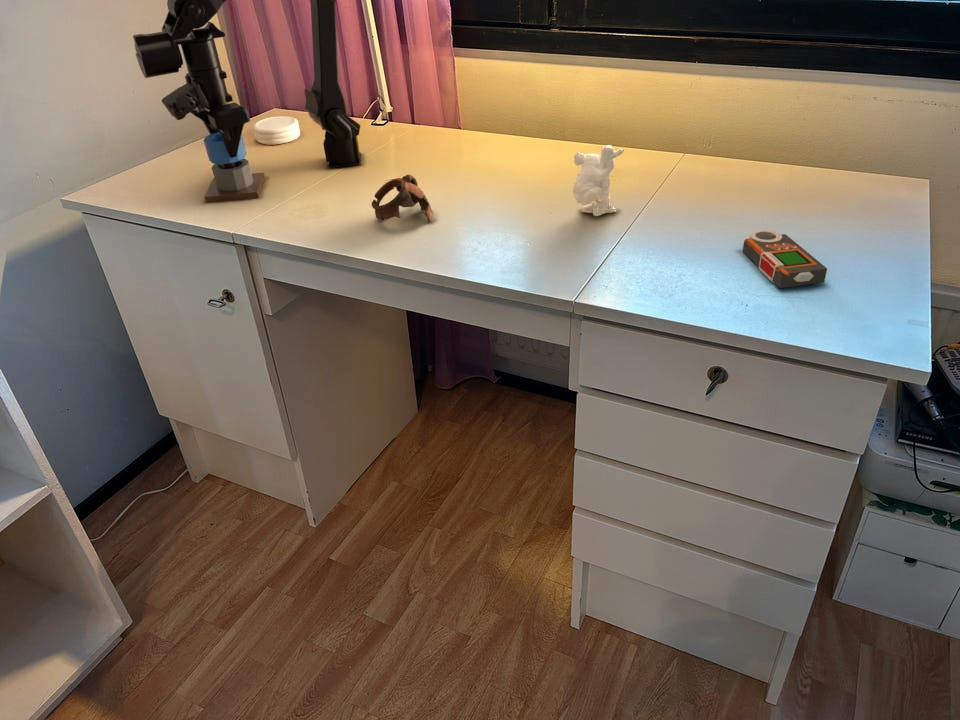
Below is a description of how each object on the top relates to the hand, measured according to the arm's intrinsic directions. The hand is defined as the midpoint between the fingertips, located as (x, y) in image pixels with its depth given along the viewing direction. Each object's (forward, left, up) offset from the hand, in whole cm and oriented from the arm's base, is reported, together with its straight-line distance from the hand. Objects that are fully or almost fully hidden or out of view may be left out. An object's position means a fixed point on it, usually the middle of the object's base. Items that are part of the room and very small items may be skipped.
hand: (226, 152), depth 139 cm
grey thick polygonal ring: (0, 0, -6) cm, 6 cm away
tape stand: (0, 0, -8) cm, 8 cm away
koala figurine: (-66, +25, -8) cm, 71 cm away
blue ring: (0, 0, -1) cm, 1 cm away
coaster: (-5, -29, -8) cm, 30 cm away
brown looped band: (-33, +20, -8) cm, 39 cm away
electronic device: (-88, +49, -8) cm, 101 cm away
